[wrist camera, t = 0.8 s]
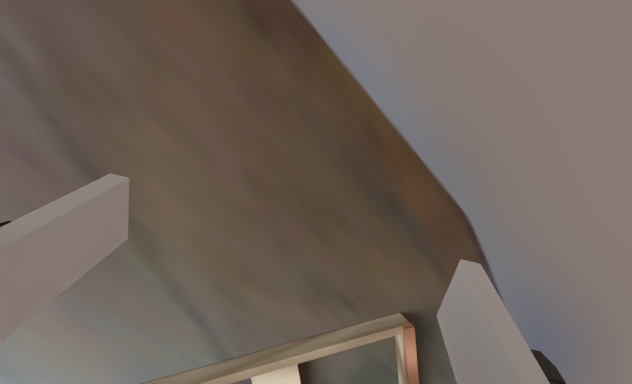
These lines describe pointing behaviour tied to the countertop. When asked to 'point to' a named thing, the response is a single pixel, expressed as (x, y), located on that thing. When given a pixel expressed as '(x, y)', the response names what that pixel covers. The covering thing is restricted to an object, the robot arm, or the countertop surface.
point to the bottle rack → (309, 356)
